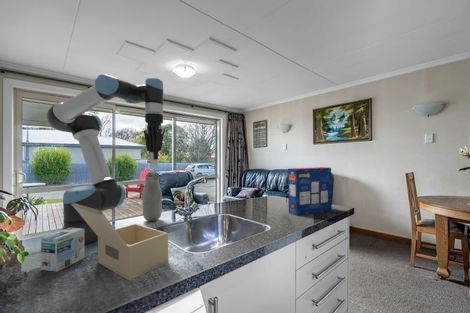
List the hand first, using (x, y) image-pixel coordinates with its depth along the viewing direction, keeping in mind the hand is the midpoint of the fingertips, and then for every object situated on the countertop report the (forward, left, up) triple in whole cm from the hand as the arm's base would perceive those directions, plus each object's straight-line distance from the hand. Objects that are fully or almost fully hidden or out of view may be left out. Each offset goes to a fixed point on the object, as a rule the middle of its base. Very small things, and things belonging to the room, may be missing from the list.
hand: (153, 166), depth 100 cm
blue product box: (+43, +85, -32) cm, 100 cm away
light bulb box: (-5, -32, -32) cm, 46 cm away
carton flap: (+14, -29, -16) cm, 35 cm away
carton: (+14, -18, -32) cm, 39 cm away
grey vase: (-25, +16, -32) cm, 44 cm away
